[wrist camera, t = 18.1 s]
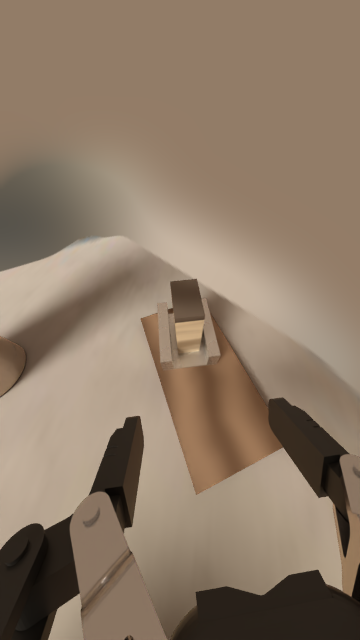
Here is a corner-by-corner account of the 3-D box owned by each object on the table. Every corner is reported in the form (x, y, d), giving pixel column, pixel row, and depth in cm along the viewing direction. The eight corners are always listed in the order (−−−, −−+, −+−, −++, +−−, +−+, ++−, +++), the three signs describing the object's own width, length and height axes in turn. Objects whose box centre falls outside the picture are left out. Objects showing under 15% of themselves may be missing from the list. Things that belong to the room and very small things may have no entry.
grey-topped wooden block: (199, 350, 24) (205, 315, 16) (178, 353, 24) (174, 318, 16) (193, 321, 27) (196, 279, 19) (174, 323, 27) (170, 281, 19)
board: (195, 490, 17) (196, 494, 16) (142, 322, 29) (140, 318, 28) (283, 442, 19) (289, 443, 18) (201, 302, 31) (201, 298, 30)
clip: (216, 364, 23) (220, 355, 20) (163, 370, 23) (160, 362, 20) (204, 311, 28) (206, 298, 25) (160, 315, 28) (157, 303, 25)
